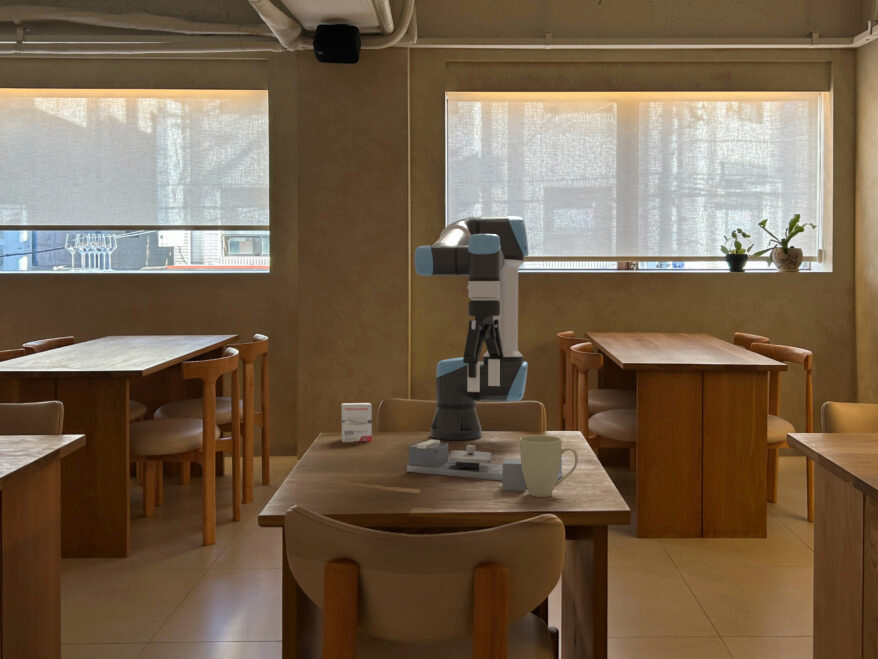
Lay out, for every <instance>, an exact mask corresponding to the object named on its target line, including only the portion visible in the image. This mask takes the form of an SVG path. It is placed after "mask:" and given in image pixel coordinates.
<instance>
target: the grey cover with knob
mask: <svg viewBox="0 0 878 659" xmlns="http://www.w3.org/2000/svg"><path fill="white" fill-rule="evenodd" d="M465 449H466V450H451V451H450V454H449V456H448V460H449V461H452V462H456V465H457V466H462V467H474V468H479V463H485V464H492V463H491V462H492V453H491V452H488V451H476V449H477V447H476V445H473V444H469V445H466V448H465Z"/></svg>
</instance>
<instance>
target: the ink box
mask: <svg viewBox="0 0 878 659" xmlns="http://www.w3.org/2000/svg"><path fill="white" fill-rule="evenodd" d="M372 405H373V404H372V403H370V402H352V403H351V402H349V403H348V402H347V403H346V402H345V403H341V442H342V443H355V442H354V441H366V442H372V441H373V440H372V439H373V436H372V435H373V434H372V433H373V431H372V430H373V429H372V428H373V425H372V424H373V422H372V421H373V417H372V416H373V414H372V413H373V411H372V410H373V409H372V407H373V406H372Z"/></svg>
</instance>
